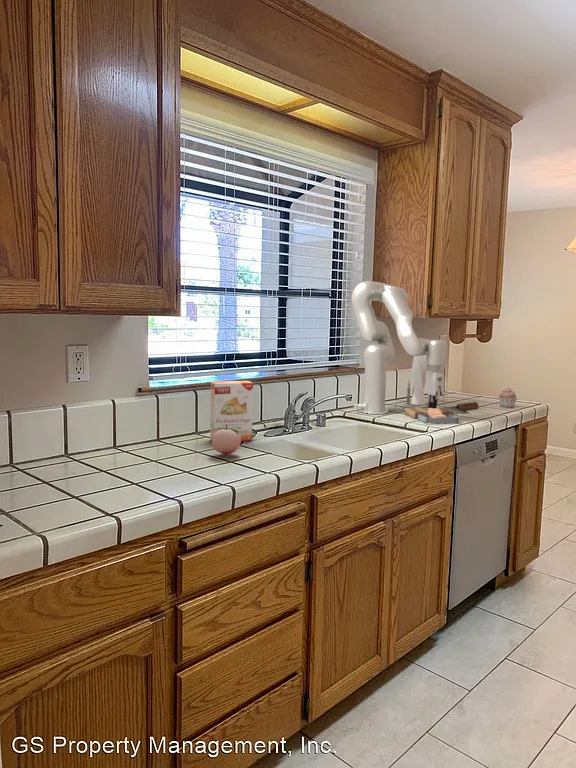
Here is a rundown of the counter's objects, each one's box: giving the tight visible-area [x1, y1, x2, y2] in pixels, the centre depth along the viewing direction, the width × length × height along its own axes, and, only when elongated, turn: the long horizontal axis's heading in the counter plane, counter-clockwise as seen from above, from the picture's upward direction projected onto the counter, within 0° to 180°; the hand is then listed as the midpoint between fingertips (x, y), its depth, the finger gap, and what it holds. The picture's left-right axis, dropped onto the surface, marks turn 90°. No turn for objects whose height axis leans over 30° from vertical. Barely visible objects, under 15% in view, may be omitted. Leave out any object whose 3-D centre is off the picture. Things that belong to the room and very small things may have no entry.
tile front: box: [432, 414, 447, 418], centre depth 241 cm, size 4×4×2 cm
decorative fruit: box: [211, 424, 242, 456], centre depth 179 cm, size 9×8×10 cm
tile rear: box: [427, 407, 442, 418], centre depth 245 cm, size 4×4×2 cm
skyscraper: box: [405, 355, 427, 407], centre depth 287 cm, size 8×8×28 cm
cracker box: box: [209, 380, 254, 442], centre depth 201 cm, size 14×6×21 cm, turn 112°
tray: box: [417, 414, 459, 424], centre depth 243 cm, size 14×10×2 cm
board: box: [404, 407, 454, 420], centre depth 254 cm, size 18×12×3 cm, turn 99°
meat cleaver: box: [443, 401, 479, 416], centre depth 268 cm, size 34×11×4 cm, turn 126°
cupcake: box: [497, 386, 518, 409], centre depth 285 cm, size 9×9×10 cm
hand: (432, 410), depth 248 cm, fingers closed
